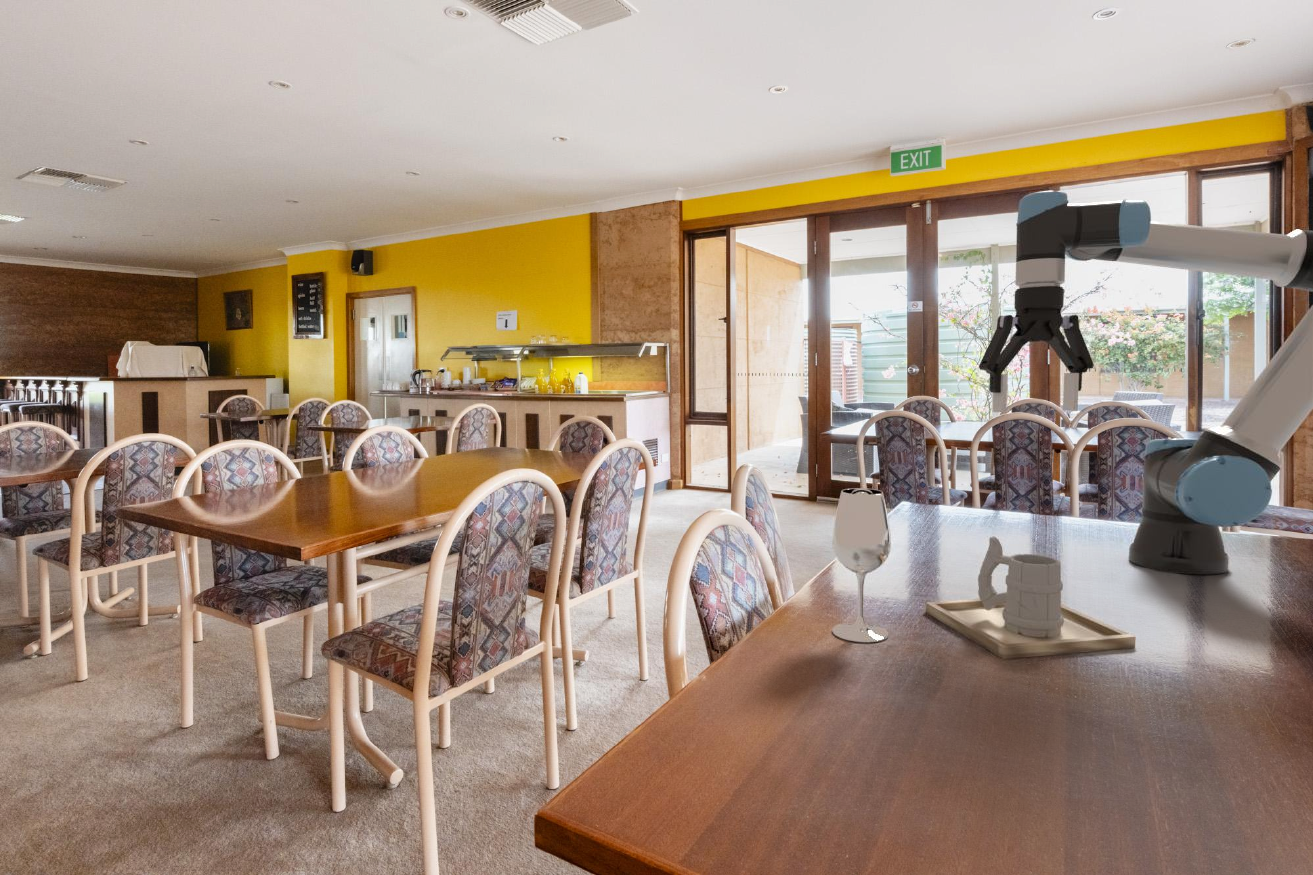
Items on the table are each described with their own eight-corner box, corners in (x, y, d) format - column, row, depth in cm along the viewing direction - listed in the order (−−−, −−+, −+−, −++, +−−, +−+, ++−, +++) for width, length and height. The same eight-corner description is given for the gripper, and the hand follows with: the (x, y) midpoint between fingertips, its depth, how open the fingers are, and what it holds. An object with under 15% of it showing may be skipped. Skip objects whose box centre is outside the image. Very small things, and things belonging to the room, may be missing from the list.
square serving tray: (1039, 603, 120) (1039, 594, 120) (1135, 647, 101) (1135, 636, 101) (925, 612, 117) (925, 602, 116) (1003, 659, 98) (1003, 647, 98)
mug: (1047, 643, 102) (1051, 553, 101) (963, 620, 111) (965, 538, 110) (1073, 630, 107) (1077, 544, 106) (990, 609, 116) (993, 530, 115)
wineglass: (890, 627, 110) (893, 488, 108) (888, 646, 103) (890, 497, 101) (834, 621, 113) (836, 485, 111) (828, 639, 106) (829, 494, 104)
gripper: (1088, 289, 138) (1083, 408, 140) (959, 288, 134) (956, 411, 136) (1120, 285, 131) (1115, 410, 133) (985, 284, 126) (982, 414, 128)
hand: (1035, 411), depth 134 cm, fingers open, 13 cm apart
